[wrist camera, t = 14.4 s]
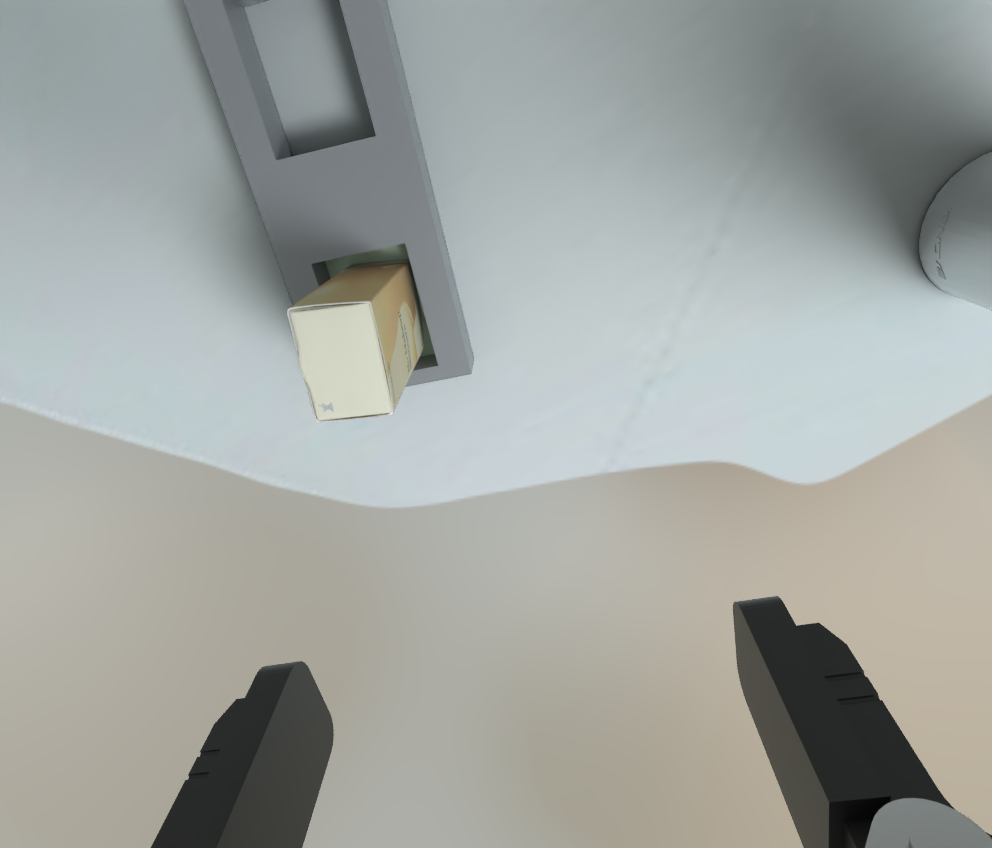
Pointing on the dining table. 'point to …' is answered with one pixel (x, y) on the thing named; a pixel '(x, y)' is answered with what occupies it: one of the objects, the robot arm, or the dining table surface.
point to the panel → (341, 175)
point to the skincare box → (359, 340)
